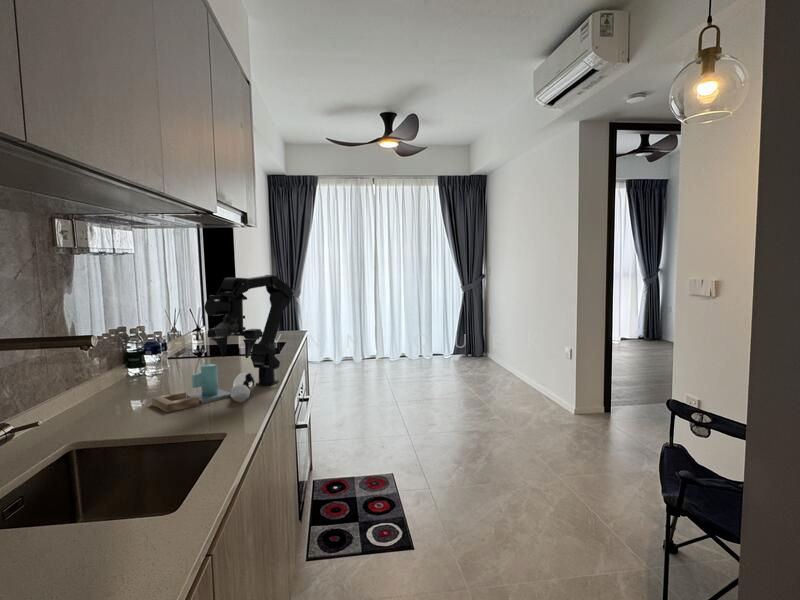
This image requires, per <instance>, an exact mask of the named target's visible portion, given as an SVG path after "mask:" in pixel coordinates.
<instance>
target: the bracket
mask: <svg viewBox="0 0 800 600" xmlns="http://www.w3.org/2000/svg"><path fill="white" fill-rule="evenodd" d="M151 405H152V406H153V407H155V406H156V407H155V408H157V407H158V408H157V409H159V408H160V409H159V410H161V409H162V411H163V410H164V411H163V412H165V411H166V413H167V412H168V413H170V412H171V413H172V412H176V411H180V410H184V409H188V408H192V407H196V406H199V405H200V403H199V397H196V396H193V397H188V398H187V392H185V391H183V390H181V391H176V392H171V393H168V394H162V395H158V396H153V397H151Z"/></svg>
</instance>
